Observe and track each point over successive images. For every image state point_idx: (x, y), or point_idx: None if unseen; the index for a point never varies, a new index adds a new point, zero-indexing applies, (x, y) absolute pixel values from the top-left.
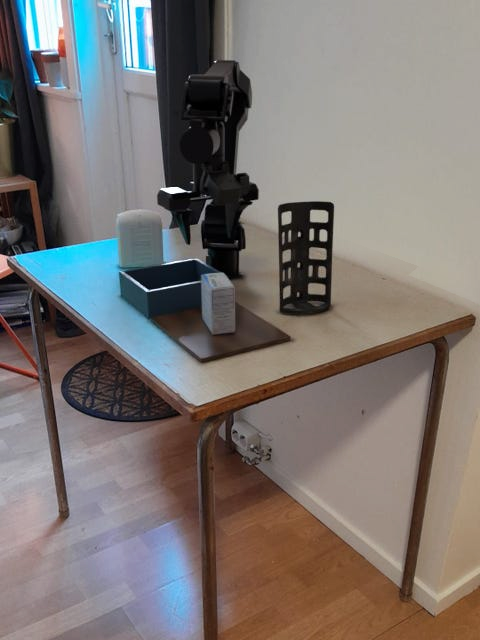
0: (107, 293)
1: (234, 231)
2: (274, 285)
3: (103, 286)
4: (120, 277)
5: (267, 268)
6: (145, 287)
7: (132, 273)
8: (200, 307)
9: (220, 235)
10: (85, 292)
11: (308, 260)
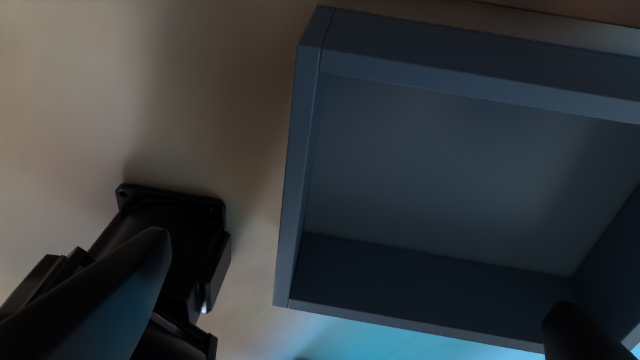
0: None
1: (106, 256)
2: (33, 42)
3: (536, 354)
4: None
5: (3, 189)
6: (499, 277)
7: None
8: (503, 3)
9: (140, 346)
10: None
11: None
